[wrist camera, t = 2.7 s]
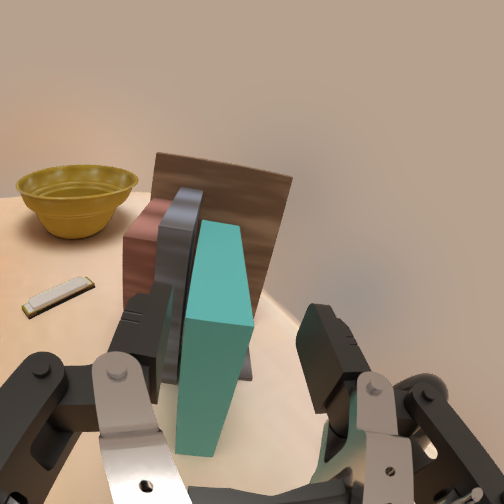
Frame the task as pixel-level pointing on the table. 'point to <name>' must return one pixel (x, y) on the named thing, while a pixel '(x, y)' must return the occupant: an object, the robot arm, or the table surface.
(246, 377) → the book rack
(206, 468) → the table surface
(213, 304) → the teal book
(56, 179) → the planter bowl
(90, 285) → the harmonica
